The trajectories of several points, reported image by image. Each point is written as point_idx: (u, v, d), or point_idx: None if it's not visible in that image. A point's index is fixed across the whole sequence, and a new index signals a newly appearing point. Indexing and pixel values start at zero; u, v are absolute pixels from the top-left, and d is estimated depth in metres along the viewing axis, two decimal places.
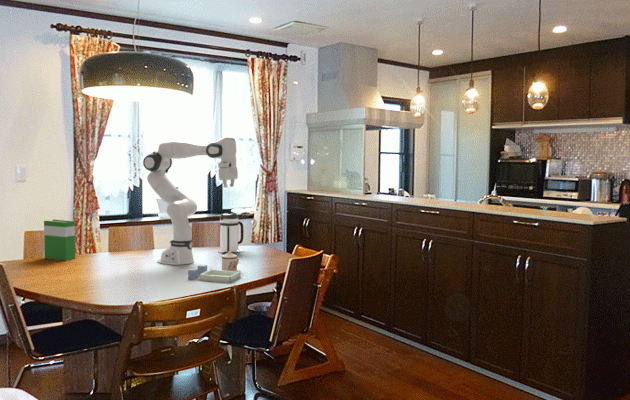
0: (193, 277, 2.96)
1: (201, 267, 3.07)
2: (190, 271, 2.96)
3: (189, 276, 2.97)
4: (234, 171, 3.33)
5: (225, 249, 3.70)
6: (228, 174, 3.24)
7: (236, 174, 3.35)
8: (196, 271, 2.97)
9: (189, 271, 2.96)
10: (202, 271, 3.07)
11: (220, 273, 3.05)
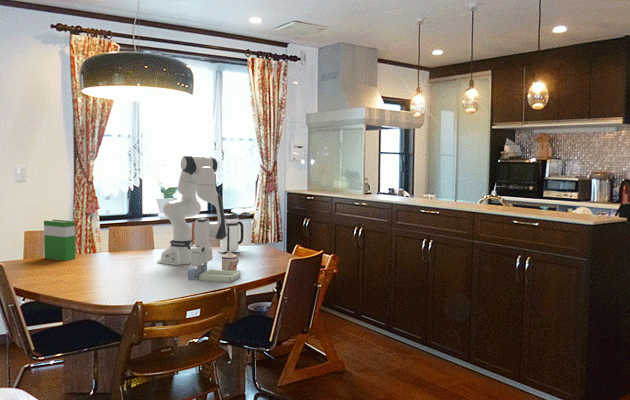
0: (193, 277, 2.96)
1: (201, 267, 3.07)
2: (190, 271, 2.96)
3: (189, 276, 2.97)
4: (208, 253, 3.13)
5: (225, 249, 3.70)
6: (201, 258, 3.04)
7: (211, 255, 3.15)
8: (196, 271, 2.97)
9: (189, 271, 2.96)
10: (202, 271, 3.07)
11: (220, 273, 3.05)
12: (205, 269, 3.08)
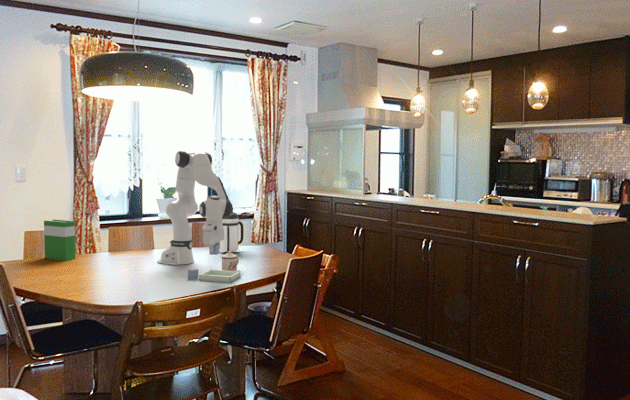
0: (193, 277, 2.96)
1: (213, 246, 2.96)
2: (190, 271, 2.96)
3: (189, 276, 2.97)
4: (220, 232, 3.02)
5: (225, 249, 3.70)
6: (214, 237, 2.93)
7: (223, 235, 3.05)
8: (196, 271, 2.97)
9: (189, 271, 2.96)
10: (214, 251, 2.96)
11: (220, 273, 3.05)
12: (217, 249, 2.98)
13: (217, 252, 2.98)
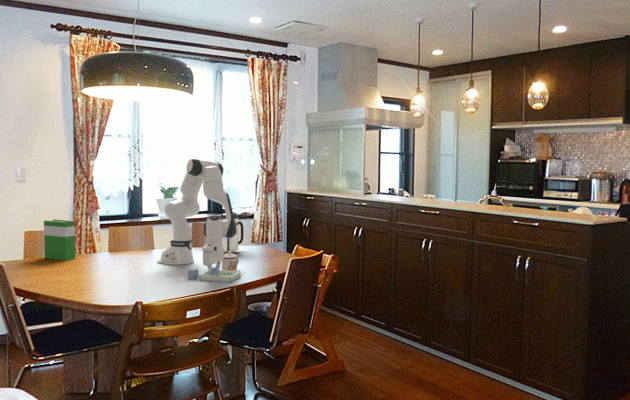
0: (193, 277, 2.96)
1: (213, 269, 2.97)
2: (190, 271, 2.96)
3: (189, 276, 2.97)
4: (220, 252, 3.03)
5: (225, 249, 3.70)
6: (213, 258, 2.94)
7: (222, 255, 3.06)
8: (196, 271, 2.97)
9: (189, 271, 2.96)
10: (214, 273, 2.97)
11: (220, 273, 3.05)
12: (217, 271, 2.99)
13: (217, 275, 2.99)
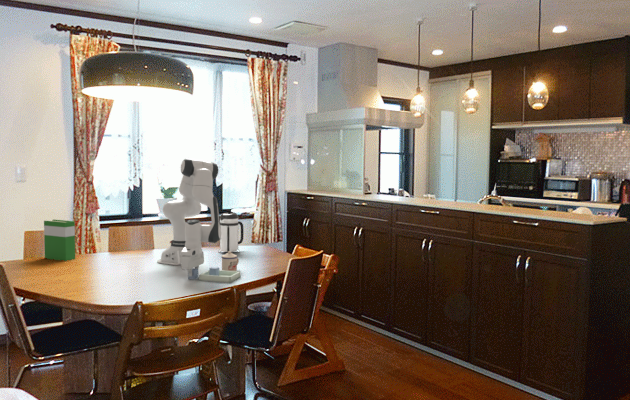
0: (193, 277, 2.96)
1: (213, 269, 2.97)
2: None
3: (189, 276, 2.97)
4: (200, 256, 3.02)
5: (225, 249, 3.70)
6: (192, 262, 2.93)
7: (202, 259, 3.05)
8: (196, 271, 2.97)
9: None
10: (214, 273, 2.97)
11: (220, 273, 3.05)
12: (217, 271, 2.99)
13: (217, 275, 2.99)
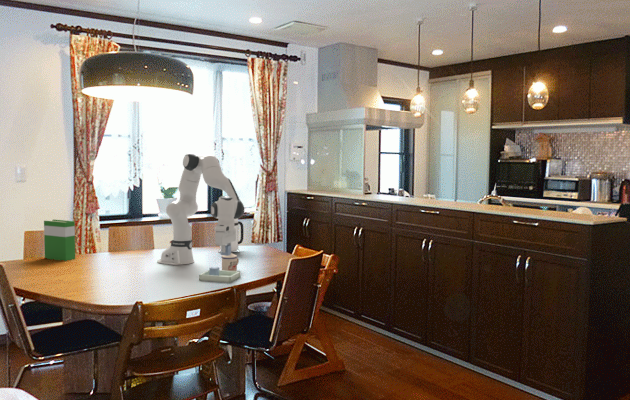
0: (226, 253, 2.95)
1: (213, 269, 2.97)
2: None
3: (222, 252, 2.95)
4: (232, 233, 3.00)
5: None
6: (226, 238, 2.92)
7: (234, 236, 3.03)
8: (229, 247, 2.96)
9: None
10: (214, 273, 2.97)
11: (220, 273, 3.05)
12: (217, 271, 2.99)
13: (217, 275, 2.99)
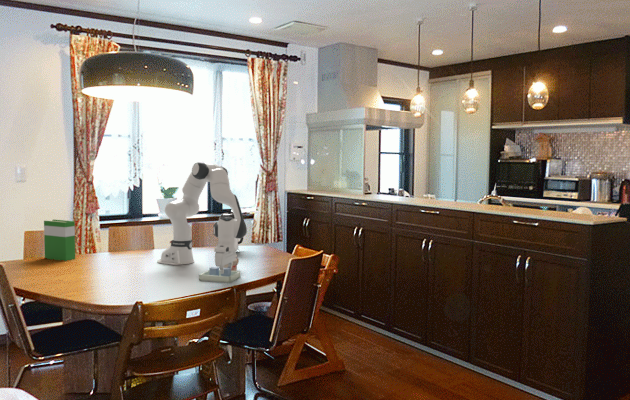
0: None
1: (213, 269, 2.97)
2: None
3: (222, 275, 2.96)
4: (232, 253, 3.01)
5: None
6: (225, 258, 2.92)
7: (234, 255, 3.04)
8: (229, 270, 2.97)
9: None
10: (214, 273, 2.97)
11: (220, 273, 3.05)
12: (217, 271, 2.99)
13: (217, 275, 2.99)
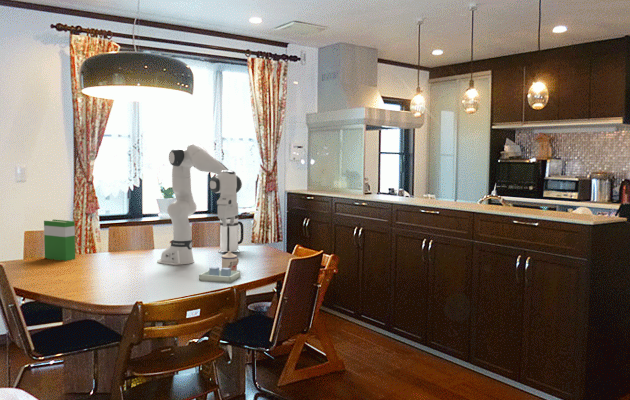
0: None
1: (213, 269, 2.97)
2: (223, 271, 2.96)
3: (222, 275, 2.96)
4: (234, 207, 3.02)
5: (225, 249, 3.70)
6: (228, 211, 2.93)
7: (237, 210, 3.05)
8: (229, 270, 2.97)
9: (222, 270, 2.96)
10: (214, 273, 2.97)
11: (220, 273, 3.05)
12: (217, 271, 2.99)
13: (217, 275, 2.99)
